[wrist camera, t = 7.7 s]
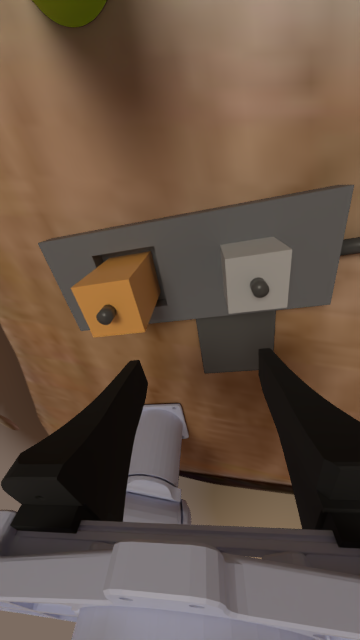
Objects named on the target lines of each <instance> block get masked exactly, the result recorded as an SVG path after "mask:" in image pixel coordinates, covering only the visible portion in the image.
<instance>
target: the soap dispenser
mask: <svg viewBox="0 0 360 640" xmlns="http://www.w3.org/2000/svg"><path fill="white" fill-rule="evenodd" d="M32 1H33V2H34V3H35V4H36V5H37V7H38V8H39V9H40V10H41V11H42V12H43V13H44V14H45V15H46V16H48V17H49V18H50V19H52V20H53V21H55V22H56V23H58V24H60V25H63V26H67V27H80V26H84V25H86V24H88V23H89V22H91V21H92V20H93V19H95V18H96V17H97V15H98V14H99V13H100V12H101V10H102V9H103V7H104V5H105V3H106V1H107V0H32Z"/></svg>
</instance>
